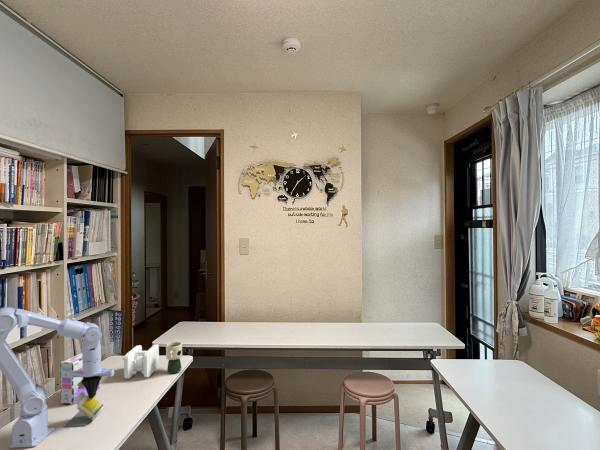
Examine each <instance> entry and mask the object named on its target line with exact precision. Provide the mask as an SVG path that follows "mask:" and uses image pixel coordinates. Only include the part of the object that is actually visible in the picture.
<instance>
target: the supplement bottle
mask: <svg viewBox="0 0 600 450" xmlns="http://www.w3.org/2000/svg"><path fill="white" fill-rule="evenodd" d="M73 403H74V404H73V405H76V409H77V410H78V412H79V411H81V412H82V413H83V414H85V415H86V416H87V417H89V418H90V419H91V421H93V420H95V419H96V418H97V417H98V415H99V414H100V413H101V412H102V411H103V410H104V409H105V407H106V406H105V405H104V404H103V403H102V402H100V401H99V400H98V399H97V398H95V396H94V397H93V398H89V396H88V395H85V393H83V392H81V393H80V394H79V395H78V396H77V397H76V398H75V400H74V401H73Z"/></svg>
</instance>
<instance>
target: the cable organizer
mask: <svg viewBox="0 0 600 450" xmlns="http://www.w3.org/2000/svg"><path fill="white" fill-rule="evenodd" d="M122 360H123V373H124V374H123V376H124V379H131V378H132V377H133V376H134V375H135V376H137V372H141V375H143V376H144V378H150V377H151V376H152V374H153V373H154V372H155V371H156V370H158V367H159V365H160V347H159V344H155V343H154V345H152V346H151V347H150V348H149V349H148V350H143V347H142V345H140V344H139V345H135V346H134V347H133V348H132V349H131V350H129V351H128V352H126V354H125V355H124V357H123V359H122Z"/></svg>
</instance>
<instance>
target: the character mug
mask: <svg viewBox="0 0 600 450" xmlns="http://www.w3.org/2000/svg"><path fill="white" fill-rule="evenodd" d="M182 357H183V343H182V342H180V341H172V342H168V343H166V345H165V358H166V360H167V361H168V363H167V371H166V372H167V373H173V374H176V373H179V372H181V370H182V363H181V358H182Z"/></svg>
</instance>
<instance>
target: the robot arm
mask: <svg viewBox="0 0 600 450" xmlns="http://www.w3.org/2000/svg"><path fill="white" fill-rule="evenodd" d="M27 326H35V327H38V328H39V327H40V328H44V329H48V330H53V331H57V335H58V336H61V337H66V338H70V339H74V340H82V347H81V348H82V349H81V353H82V363H83V370H76V371H72V372H70V373H69V377H70V378H73V377H83V380H81V383H82V384H83V385H84V387H85V388H86V390H87V393H88V396H89V398H93V397H94V398H95V397H96V395H97V388H98V385H99V386H100V382H101V380H102V378H103V377H109V378H112V377H113V376H114V375H115V369H113V368H104V367H102V347H101V346H102V344H101V339H102V336H103V333H102V331H101V328H100V326H98V325H97V324H96V323H94V322H89V321H86V322H83V321H79V320H76V318H75V317H70V318H65V319H62V320H60V319H56V318H53V317H50V316H47V315H43V314H40V313H36V312H33V311H29V310H25V309H22V308H14V307H13V306H4V307H1V308H0V371H1V373H2V374H3V376H4V377H5V378H6V381H8V383H9V384H10V386H11V387H12V388H13V390H14V391H15V394H16V398H17V400H18V401H19V403H20V411H19V417H18V419H17V420H16V422H14V424H13V425H12V428H11V433H12V435H11V437H12V443H11V445H9V448H10V449H15V448H17V449H18V448H34V447H37V445H39V444H40V443H41V442H42V441H43V440H44V439H46V437H47V436H49V435H50V434H51V433H52V432H53V431H54V430H55V428H54V427H49V424H48V423H49V422H48V421H49V420H48V419H49V418H48V417H49V416H48V404H47V403H46V402H47V401H46V389H45V387H44V386H43V385H42V384H38V383H37V381H36V380H35V379H33V378H32V377H31V375H30V374H29V373H28V371H27V370H26V368H25V367H24V365H23V364H22V362H21V361H20V359H18V357H17V355H16V354H15V353H14V351H13V350H12V348H11V346H10V345H9V344H8V342H7V341H6V340H7V338H8V335H9V333H11V332H12V331H13V329H15V328H16V327H17V329H20V328H24V327H27Z"/></svg>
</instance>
